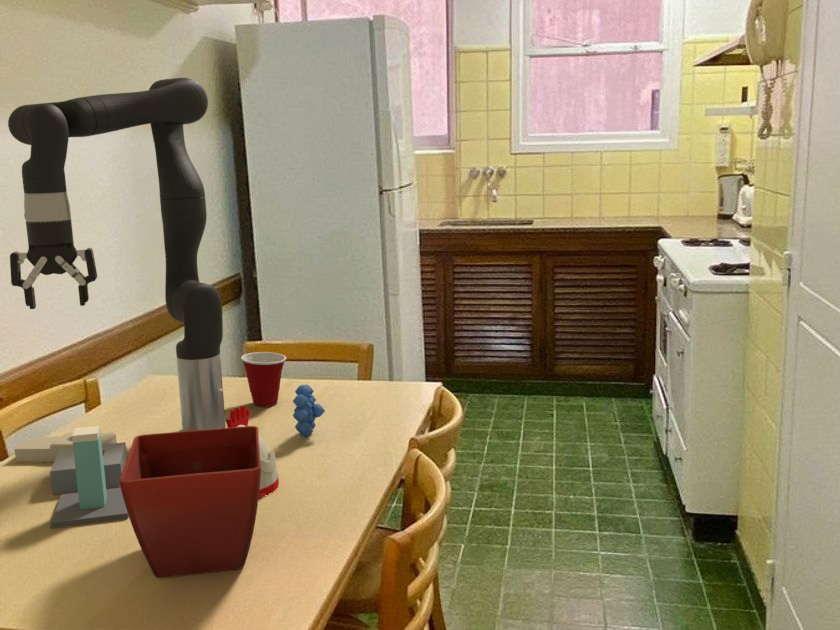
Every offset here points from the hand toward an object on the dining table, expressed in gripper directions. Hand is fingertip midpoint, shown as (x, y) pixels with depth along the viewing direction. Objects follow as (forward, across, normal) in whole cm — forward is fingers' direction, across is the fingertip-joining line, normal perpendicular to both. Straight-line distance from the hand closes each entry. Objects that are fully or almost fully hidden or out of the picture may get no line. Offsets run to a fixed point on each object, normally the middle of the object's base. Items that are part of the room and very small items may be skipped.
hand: (58, 306), depth 152 cm
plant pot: (+33, -23, +40) cm, 57 cm away
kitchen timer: (+33, -30, +15) cm, 47 cm away
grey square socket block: (+33, -3, +2) cm, 33 cm away
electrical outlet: (+34, +3, -13) cm, 36 cm away
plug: (+32, -5, +17) cm, 37 cm away
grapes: (+33, -46, -8) cm, 57 cm away
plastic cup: (+33, -39, -36) cm, 63 cm away
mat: (+33, -5, +17) cm, 38 cm away
